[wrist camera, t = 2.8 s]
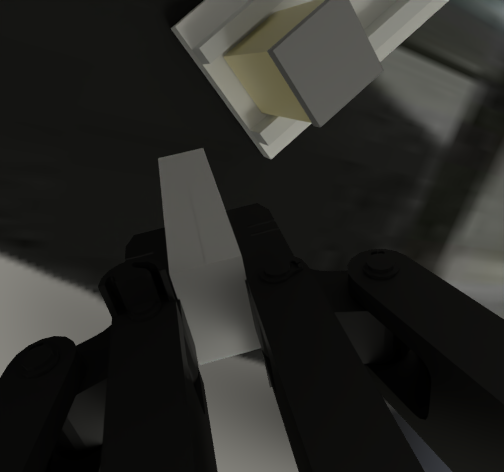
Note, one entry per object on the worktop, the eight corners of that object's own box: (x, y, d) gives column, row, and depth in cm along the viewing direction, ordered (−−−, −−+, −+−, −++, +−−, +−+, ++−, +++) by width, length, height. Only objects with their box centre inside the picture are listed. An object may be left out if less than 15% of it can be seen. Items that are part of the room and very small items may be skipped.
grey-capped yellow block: (221, 56, 31) (272, 50, 23) (274, 10, 32) (343, -12, 24) (261, 114, 34) (320, 127, 26) (310, 71, 34) (383, 70, 26)
